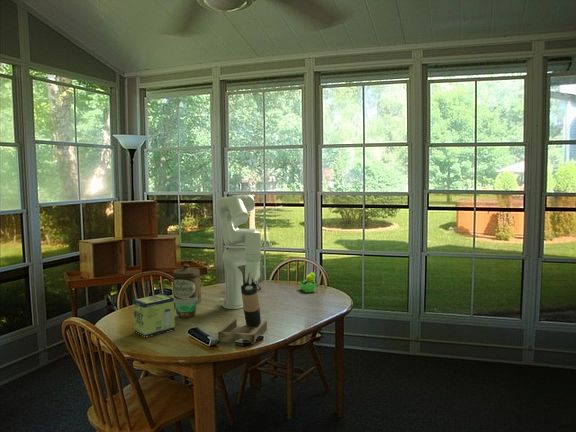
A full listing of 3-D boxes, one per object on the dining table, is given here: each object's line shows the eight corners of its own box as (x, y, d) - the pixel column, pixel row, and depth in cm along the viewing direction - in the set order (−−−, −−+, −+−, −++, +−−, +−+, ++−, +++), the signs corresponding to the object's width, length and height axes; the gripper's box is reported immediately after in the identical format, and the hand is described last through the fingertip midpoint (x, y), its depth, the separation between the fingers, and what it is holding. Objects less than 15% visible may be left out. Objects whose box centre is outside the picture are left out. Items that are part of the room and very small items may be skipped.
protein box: (133, 333, 219) (132, 299, 217) (164, 325, 229) (162, 293, 228) (144, 338, 211) (143, 304, 210) (175, 330, 222) (174, 297, 221)
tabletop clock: (264, 289, 298) (263, 249, 296) (255, 292, 291) (254, 251, 288) (245, 286, 306) (244, 247, 304) (236, 289, 298) (235, 250, 296)
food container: (174, 320, 237) (173, 300, 236) (173, 316, 243) (173, 297, 242) (199, 318, 240) (198, 298, 239) (198, 314, 246) (197, 295, 245)
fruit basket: (298, 289, 298) (298, 271, 297) (311, 287, 301) (311, 270, 300) (304, 293, 287) (304, 274, 286) (318, 292, 290) (318, 273, 289)
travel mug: (252, 316, 233) (248, 280, 225) (264, 321, 228) (260, 285, 220) (242, 324, 227) (237, 288, 220) (253, 329, 223) (249, 292, 215)
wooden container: (169, 305, 265) (168, 265, 263) (181, 298, 279) (180, 261, 277) (194, 306, 261) (193, 266, 259) (205, 299, 276) (204, 261, 274)
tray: (218, 341, 206) (218, 332, 205) (234, 327, 225) (234, 318, 225) (254, 344, 202) (253, 335, 202) (266, 329, 221) (266, 320, 221)
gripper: (250, 254, 234) (250, 291, 236) (240, 259, 220) (241, 298, 221) (264, 254, 232) (265, 291, 234) (255, 260, 218) (256, 299, 219)
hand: (253, 295), depth 228 cm, fingers closed
